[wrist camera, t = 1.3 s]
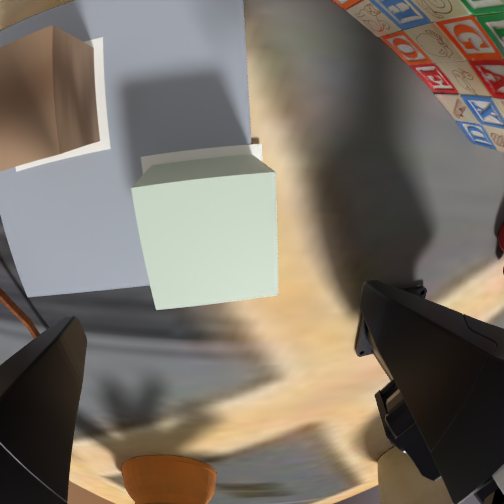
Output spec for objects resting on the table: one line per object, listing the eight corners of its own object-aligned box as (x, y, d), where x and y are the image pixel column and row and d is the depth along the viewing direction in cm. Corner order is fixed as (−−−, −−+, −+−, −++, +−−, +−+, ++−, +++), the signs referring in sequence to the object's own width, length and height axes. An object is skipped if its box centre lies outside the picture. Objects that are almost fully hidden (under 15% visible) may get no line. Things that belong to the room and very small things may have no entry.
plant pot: (428, 446, 45) (461, 503, 31) (360, 480, 45) (387, 543, 31) (437, 413, 38) (482, 484, 24) (354, 456, 39) (389, 538, 24)
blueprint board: (265, 269, 22) (266, 271, 22) (29, 295, 20) (27, 297, 19) (250, -24, 13) (251, -26, 13) (-14, 40, 11) (-17, 39, 11)
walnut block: (100, 141, 16) (59, 154, 11) (21, 161, 15) (-33, 183, 10) (93, 47, 14) (52, 24, 8) (13, 75, 13) (-42, 70, 8)
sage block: (257, 246, 21) (278, 295, 15) (165, 256, 20) (156, 309, 15) (252, 154, 18) (275, 171, 13) (151, 165, 17) (131, 188, 12)
